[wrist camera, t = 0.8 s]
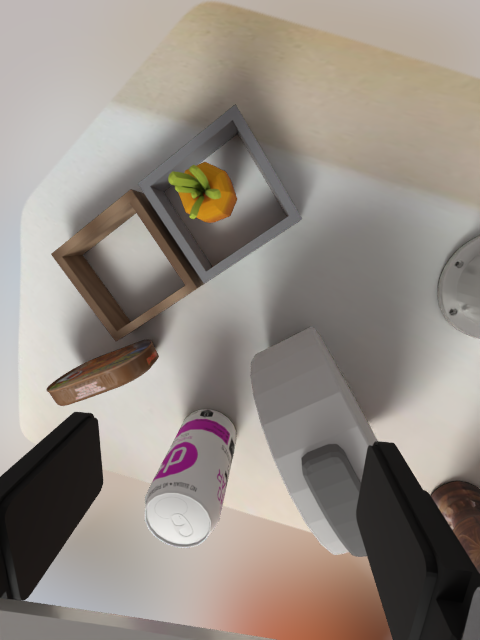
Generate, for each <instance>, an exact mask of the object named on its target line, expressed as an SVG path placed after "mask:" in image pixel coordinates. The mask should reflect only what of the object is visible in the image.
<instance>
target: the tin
mask: <svg viewBox="0 0 480 640" xmlns="http://www.w3.org/2000/svg"><path fill="white" fill-rule="evenodd" d="M158 357H159V356H158V353H157V351H156V349H155V347H154V345H153V342H152V340H143V341H140V342H137V343H134V344H132V345H129V346H126V347H124V348H121V349H119V350H116V351H113V352H111V353H108V354H105V355H103V356H100V357H98V358H95V359H93V360H90V361H88V362H86V363H84V364H82V365H80V366H78V367H76V368H74V369H73V370H71V371H69V372H68V373H66V374H64V375H63V376H61V377H60V378H58V379H57V380H56V381H54V382H53V383H52V384H51V385H50V386H48V388H47V391H48V392H49V393H50V395H51V396H52V398H53V399H54V400H55V402H56V403H57V404H58V405H60V406H65V405H69V404H72V403H75V402H78V401H81V400H84V399H87V398H90V397H93V396H95V395H98V394H101V393H104V392H107V391H109V390H112V389H115V388H118V387H120V386H122V385H125V384H127V383H129V382H131V381H133V380H134V379H136V378H138V377H139V376H141V375H142V374H144V373H145V372H146V371H148V370H149V369H150V368H151V366H152V365H153V364H154V363H155V362H156V360H157V359H158Z"/></svg>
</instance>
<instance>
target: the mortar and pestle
mask: <svg viewBox="0 0 480 640" xmlns="http://www.w3.org/2000/svg"><path fill="white" fill-rule="evenodd" d="M431 497H432V498H433V500H434V502H435V503H436V505H437V506H438V508H439V510H440V511H441V513H442V514H443V516H444V517H445V519H446V521H447V522H448V524H449V525H450V527H451V529H452V530H453V532H454V533H455V535H456V537H457V538H458V540H459V541H460V543H461V545H462V546H463V548H464V549H465V551H466V553H467V554H468V556H469V557H470V559H471V561H472V562H473V564H474V565H475V567H476V569H477V570H478V572H479V573H480V489H479V488H478V487H476V486H474V485H472V484H470V483H467V482H461V481H454V482H450V483H447V484H444V485H442V486H441V487H439V488H438V489H436V490H435V491H434V492H433V494H432V495H431Z"/></svg>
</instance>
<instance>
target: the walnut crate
mask: <svg viewBox="0 0 480 640" xmlns="http://www.w3.org/2000/svg"><path fill="white" fill-rule="evenodd" d="M136 213H137V214H138V216H139V217H140V219H141V220H142V222H143V223H144V225H145V226H146V228H147V229H148V231H149V232H150V234H151V235H152V237H153V238H154V240H155V241H156V242H157V244H158V245H159V247H160V248H161V250H162V251H163V253H164V254H165V256H166V257H167V259H168V260H169V262H170V263H171V265H172V266H173V268H174V269H175V271H176V272H177V274H178V275H179V277H180V278H181V280H182V281H183V283H184V284H185V286H184V287H182V288H181V289H179V290H178V291H176V292H175V293H173V294H172V295H170V296H169V297H167V298H166V299H164V300H163V301H161V302H160V303H159V304H157V305H156V306H154V307H153V308H151V309H150V310H148V311H147V312H145V313H144V314H142V315H141V316H139V317H138V318H136V319H135V320H133V321H132V322H131V321H130V320H129V319H128V317H127V316H126V314H125V313H124V312H123V310H122V309H121V308H120V306H119V305H118V303H117V302H116V301H115V299H114V298H113V296H112V295H111V294H110V292H109V291H108V290H107V288H106V287H105V285H104V284H103V283H102V281H101V280H100V278H99V277H98V276H97V274H96V273H95V272H94V270H93V269H92V267H91V266H90V265H89V263H88V262H87V260H86V259H85V258H84V256H83V254H85V253H86V252H87V251H88V250H90V249H91V248H92V247H93V246H95V245H96V244H97V243H99V242H100V241H101V240H102V239H104V238H105V237H106V236H108V235H109V234H110V233H111V232H113V231H114V230H115V229H116V228H118V227H119V226H120V225H122V224H123V223H124V222H125V221H127V220H128V219H129V218H130V217H132V216H133V215H134V214H136ZM51 255H52V256H53V257H54V259H55V260H56V262H57V263H58V264H59V266H60V267H61V268H62V270H63V271H64V272H65V274H66V275H67V276H68V278H69V279H70V280H71V282H72V283H73V284H74V286H75V287H76V289H77V290H78V291H79V293H80V294H81V295H82V297H83V298H84V299H85V301H86V302H87V303H88V305H89V306H90V307H91V309H92V310H93V312H94V313H95V314H96V316H97V317H98V318H99V320H100V321H101V322H102V324H103V325H104V326H105V328H106V329H107V330H108V332H109V333H110V334H111V336H112V337H113V339H114V340H115V341H118V340H119V339H121V338H123V337H124V336H126V335H127V334H129V333H131V332H132V331H134V330H135V329H137V328H138V327H140V326H141V325H143V324H144V323H146V322H147V321H149V320H150V319H152V318H153V317H155V316H156V315H158V314H159V313H161V312H162V311H164V310H165V309H167V308H168V307H170V306H171V305H173V304H174V303H176V302H178V301H179V300H181V299H182V298H184V297H185V296H187V295H188V294H190V293H191V292H193V291H194V290H196V289H197V288H199V287H200V286H202V285H203V284H205V283H203V282H202V280H201V278H200V277H199V275H198V274H197V272H196V271H195V269H194V268H193V266H192V265H191V263H190V262H189V260H188V259H187V257H186V256H185V254H184V253H183V251H182V250H181V248H180V247H179V245H178V244H177V242H176V241H175V239H174V238H173V236H172V235H171V233H170V232H169V230H168V229H167V227H166V226H165V224H164V223H163V221H162V220H161V218H160V217H159V215H158V214H157V212H156V211H155V209H154V208H153V206H152V205H151V203H150V202H149V200H148V199H147V197H146V196H145V194H144V193H141V192H138V191H135V190H132V189H131V190H129V191H128V192H127V193H126V194H124V195H123V196H122V197H121V198H120V199H118V200H117V201H116V202H115V203H113V204H112V205H111V206H110V207H108V208H107V209H106V210H105V211H104V212H102V213H101V214H100V215H99V216H97V217H96V218H95V219H94V220H92V221H91V222H90V223H89V224H88V225H86V226H85V227H84V228H83V229H81V230H80V231H79V232H78V233H76V234H75V235H74V236H73V237H72V238H70V239H69V240H68V241H67V242H65V243H64V244H63V245H62V246H61V247H59V248H58V249H57V250H56V251H54V252H53V253H52V254H51Z"/></svg>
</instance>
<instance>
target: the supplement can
mask: <svg viewBox="0 0 480 640" xmlns="http://www.w3.org/2000/svg"><path fill="white" fill-rule="evenodd" d="M235 444H236V431H235V428H234V425H233V424H232V422H231V421H230V420H229V418H228V417H226V416H225V415H223V414H222V413H220V412H217V411H214V410H211V409H204V410H198V411H195V412H193V413H191V414H190V415H189V416H188V417H187V418H186V419H185V420H184V422H183V424H182V426H181V428H180V430H179V432H178V434H177V436H176V438H175V439H174V441H173V443H172V445H171V447H170V449H169V451H168V453H167V455H166V457H165V459H164V460H163V462H162V464H161V466H160V468H159V470H158V472H157V474H156V476H155V478H154V480H153V482H152V483H151V485H150V487H149V490H148V492H147V494H146V497H145V522H146V524H147V526H148V528H149V530H150V531H151V532H152V534H153V535H154V536H155V537H156V538H157V539H159V540H160V541H162V542H164V543H165V544H168V545H171V546H174V547H177V548H178V547H179V548H190V547H193V546H197V545H199V544H200V543H202V542H203V541H205V540H206V539H207V537H208V535H209V534H210V533H211V532H212V531H213V530H214V529H215V527H216V525H217V523H218V521H219V519H220V514H221V510H222V505H223V500H224V496H225V491H226V486H227V482H228V477H229V472H230V468H231V463H232V458H233V454H234V449H235Z"/></svg>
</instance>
